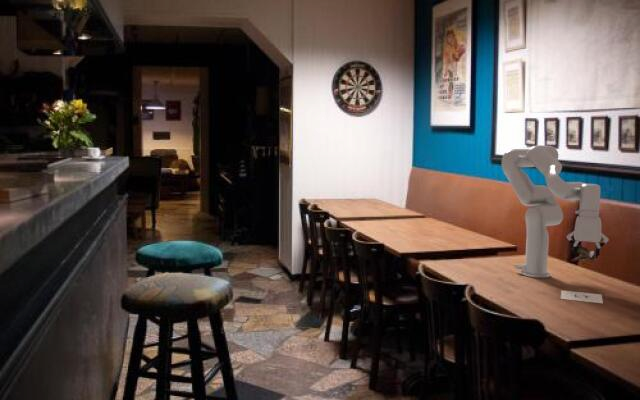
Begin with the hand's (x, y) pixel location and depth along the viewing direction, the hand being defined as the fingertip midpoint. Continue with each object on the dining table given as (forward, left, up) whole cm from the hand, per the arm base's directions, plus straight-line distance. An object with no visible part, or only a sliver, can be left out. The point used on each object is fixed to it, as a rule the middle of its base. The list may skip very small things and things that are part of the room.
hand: (586, 256), depth 261 cm
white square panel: (-1, -15, -14) cm, 20 cm away
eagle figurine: (-1, +1, -3) cm, 3 cm away
